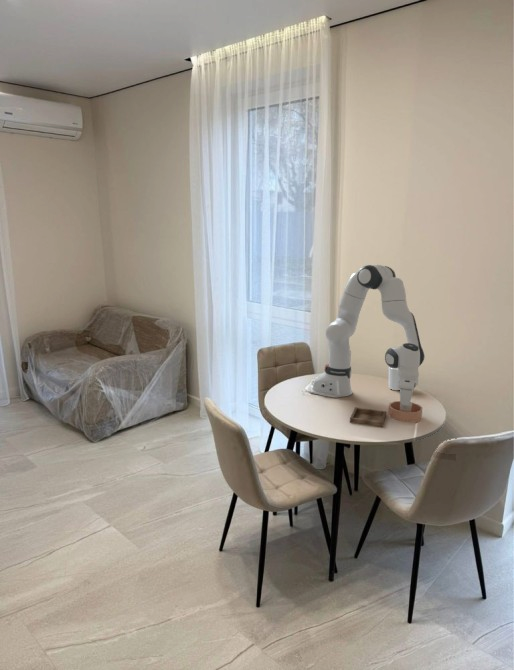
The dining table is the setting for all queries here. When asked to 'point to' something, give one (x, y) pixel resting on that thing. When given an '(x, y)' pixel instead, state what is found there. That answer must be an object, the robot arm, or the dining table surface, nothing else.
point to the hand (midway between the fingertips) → (405, 408)
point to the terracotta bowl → (405, 416)
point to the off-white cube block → (407, 408)
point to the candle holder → (393, 378)
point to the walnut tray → (368, 417)
